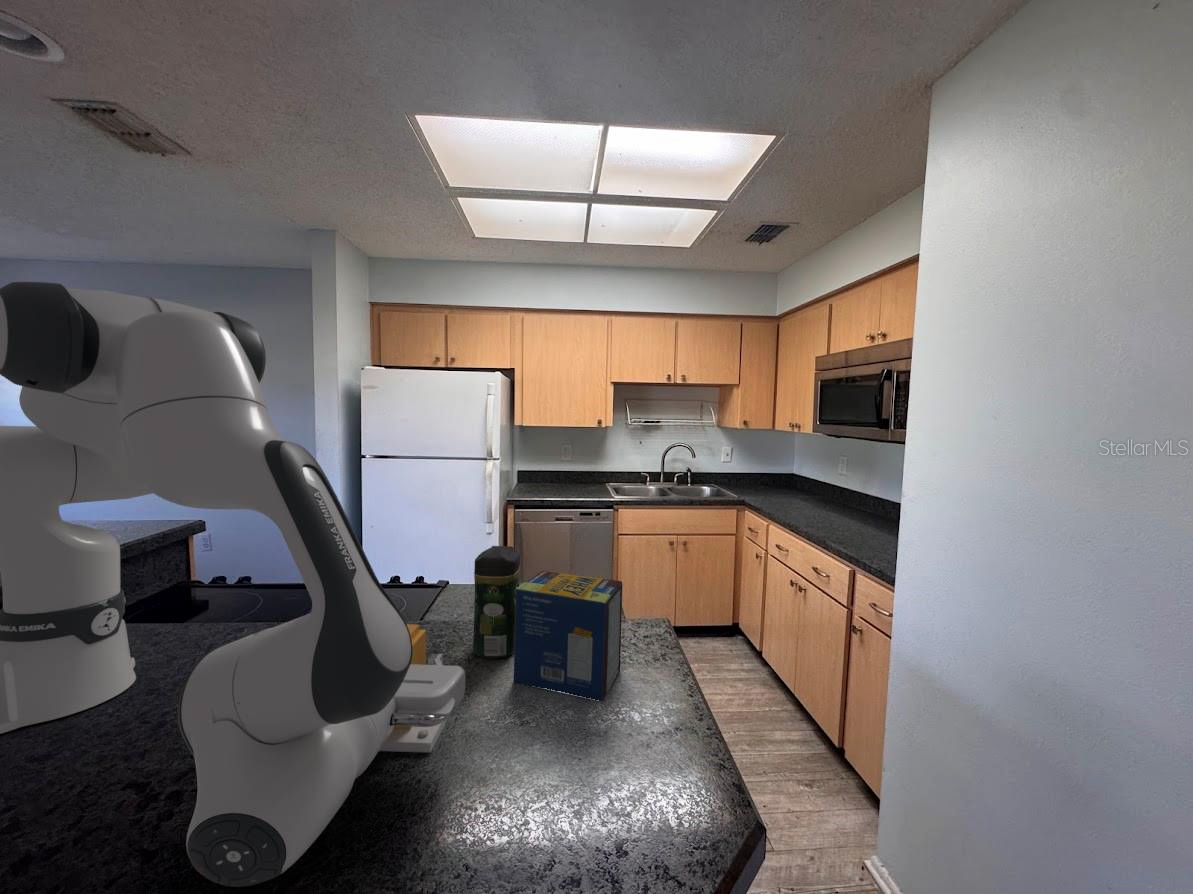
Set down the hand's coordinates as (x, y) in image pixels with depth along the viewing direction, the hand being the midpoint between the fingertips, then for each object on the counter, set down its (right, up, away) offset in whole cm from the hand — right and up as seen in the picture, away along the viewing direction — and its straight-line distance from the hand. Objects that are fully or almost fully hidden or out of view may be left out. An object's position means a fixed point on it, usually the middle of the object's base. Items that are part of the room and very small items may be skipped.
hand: (403, 657), depth 63 cm
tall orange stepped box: (0, -8, -1) cm, 8 cm away
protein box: (+22, -9, +13) cm, 27 cm away
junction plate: (0, -9, -1) cm, 9 cm away
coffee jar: (+8, -9, +22) cm, 25 cm away
